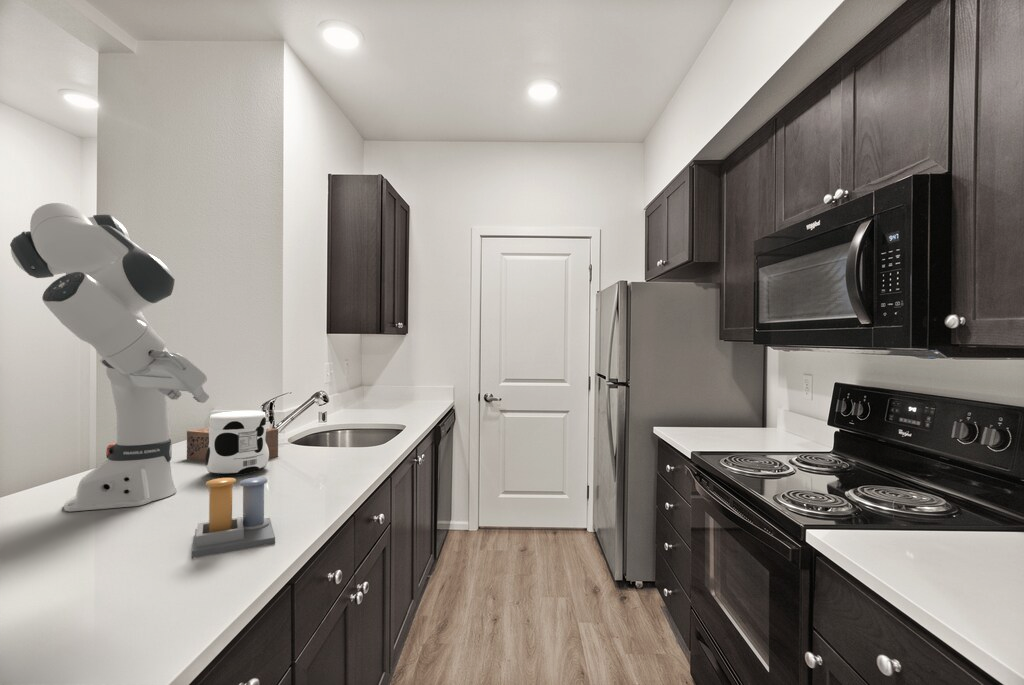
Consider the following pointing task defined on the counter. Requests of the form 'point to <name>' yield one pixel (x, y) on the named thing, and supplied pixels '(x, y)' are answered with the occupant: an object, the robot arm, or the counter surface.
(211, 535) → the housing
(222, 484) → the pin
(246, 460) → the milk container
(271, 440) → the tissue box cover
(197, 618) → the counter surface
